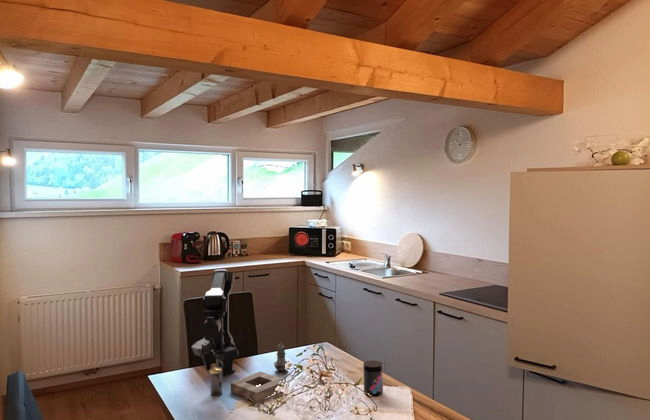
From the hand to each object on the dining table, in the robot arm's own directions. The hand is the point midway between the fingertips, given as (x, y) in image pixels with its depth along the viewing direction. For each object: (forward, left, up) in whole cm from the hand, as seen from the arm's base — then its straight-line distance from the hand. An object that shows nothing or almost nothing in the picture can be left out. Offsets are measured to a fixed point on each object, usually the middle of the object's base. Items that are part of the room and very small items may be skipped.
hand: (216, 373), depth 169 cm
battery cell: (0, 0, -7) cm, 7 cm away
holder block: (+10, +11, -7) cm, 17 cm away
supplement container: (+43, +35, -8) cm, 56 cm away
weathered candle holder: (+3, +29, -8) cm, 30 cm away
